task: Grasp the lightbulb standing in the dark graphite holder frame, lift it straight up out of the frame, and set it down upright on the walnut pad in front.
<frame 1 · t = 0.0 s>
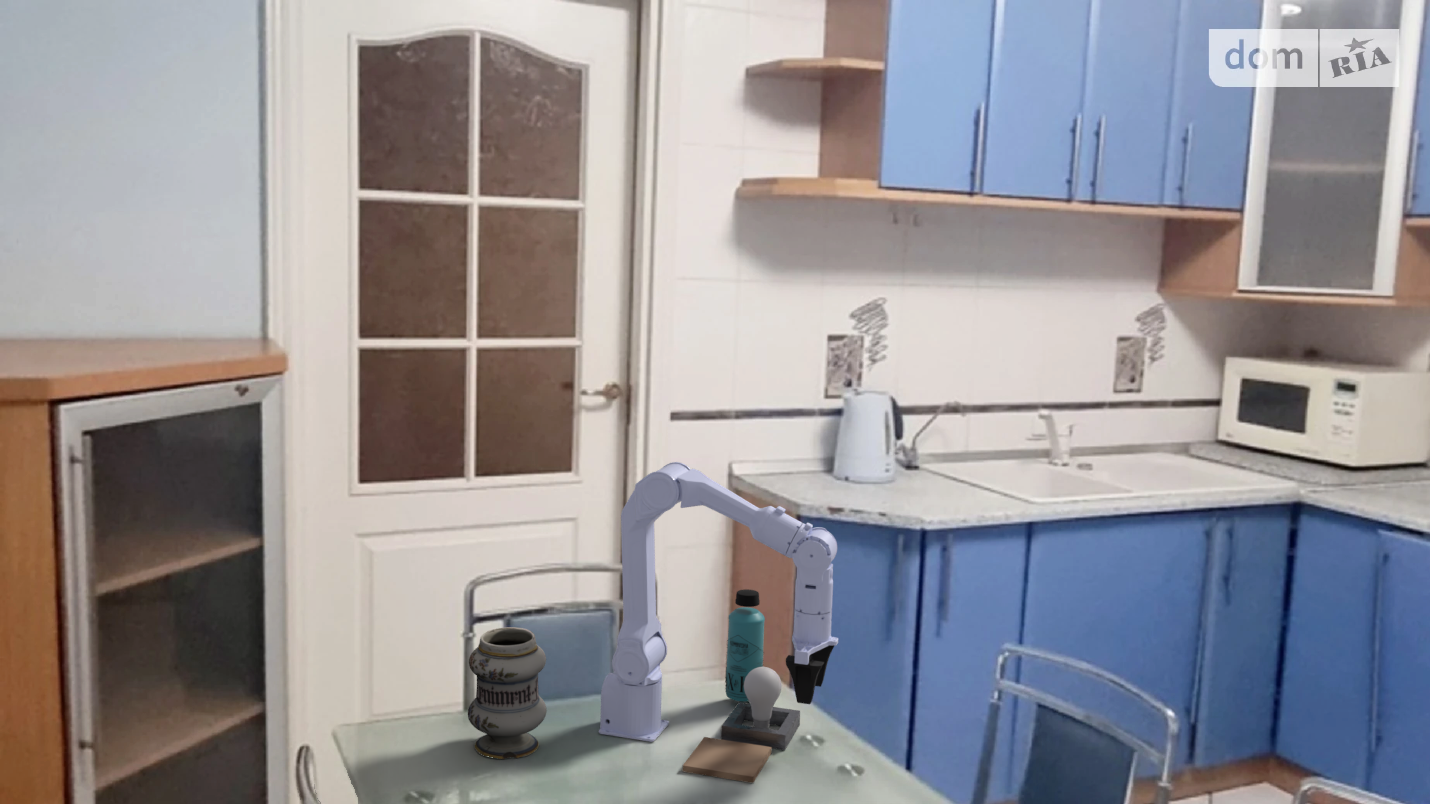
hand: (809, 693, 186), 10 cm above the table, fingers open, 7 cm apart
apothecary jar: (507, 747, 188), on the table
beverage bottle: (743, 704, 208), on the table
holder frame: (761, 732, 195), on the table
walnut pad: (727, 762, 184), on the table
lightbulb: (760, 733, 195), resting in holder frame
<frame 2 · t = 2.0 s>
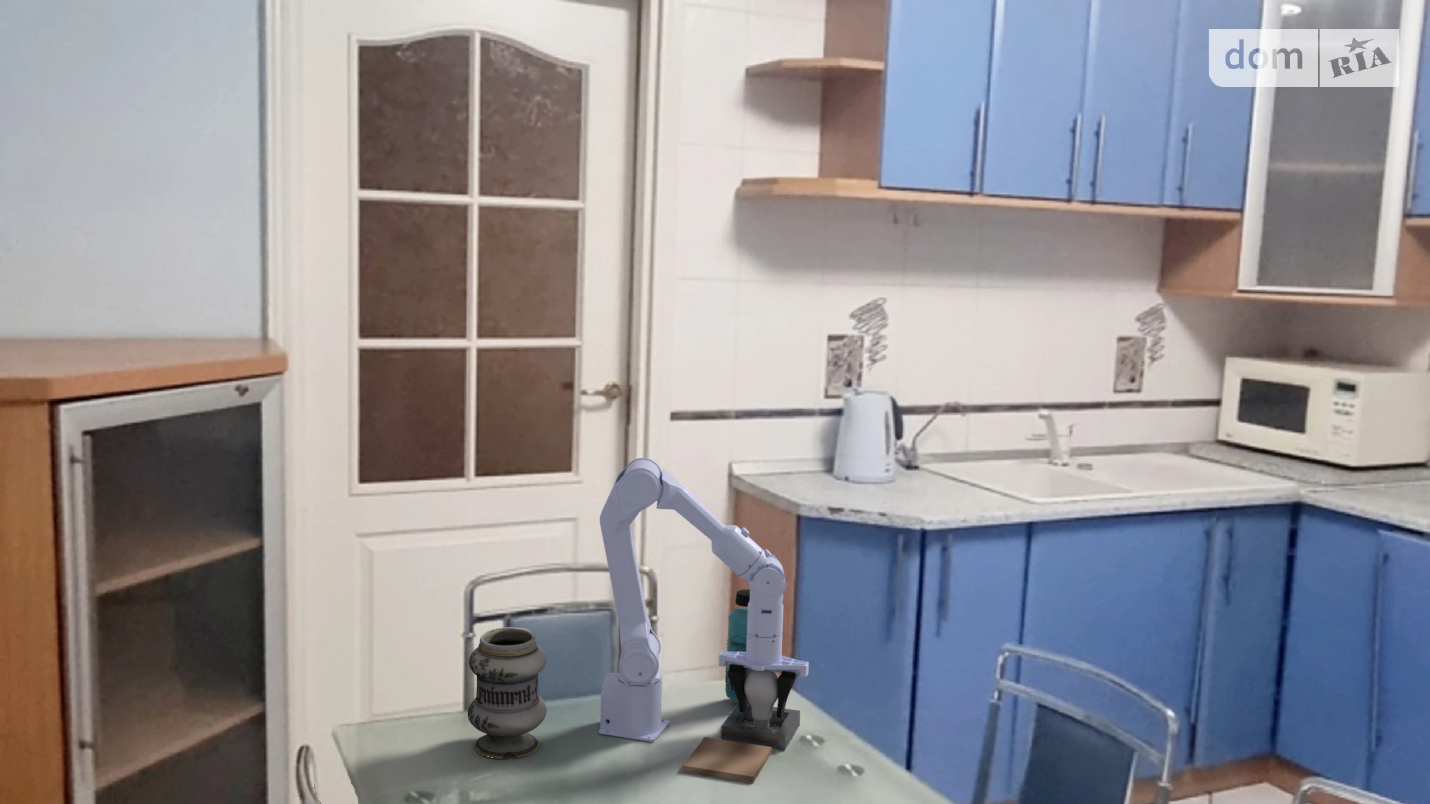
hand: (761, 712, 195), 3 cm above the table, fingers closed on lightbulb, 6 cm apart
lightbulb: (761, 733, 195), resting in holder frame, touching gripper
everything else where it was.
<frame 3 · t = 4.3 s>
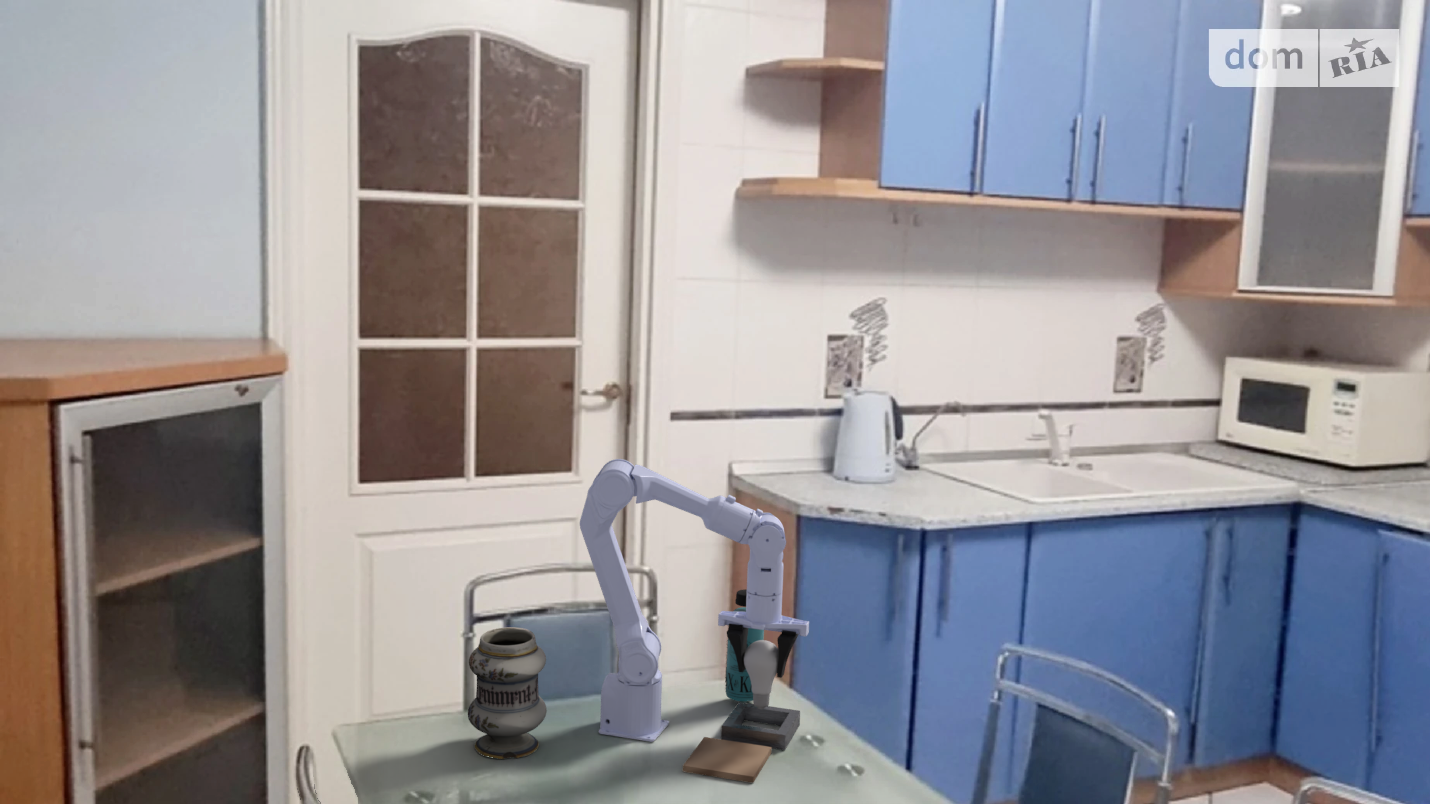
hand: (761, 672, 193), 10 cm above the table, fingers closed on lightbulb, 6 cm apart
lightbulb: (760, 710, 193), point 5 cm above the table, touching gripper
everything else where it was.
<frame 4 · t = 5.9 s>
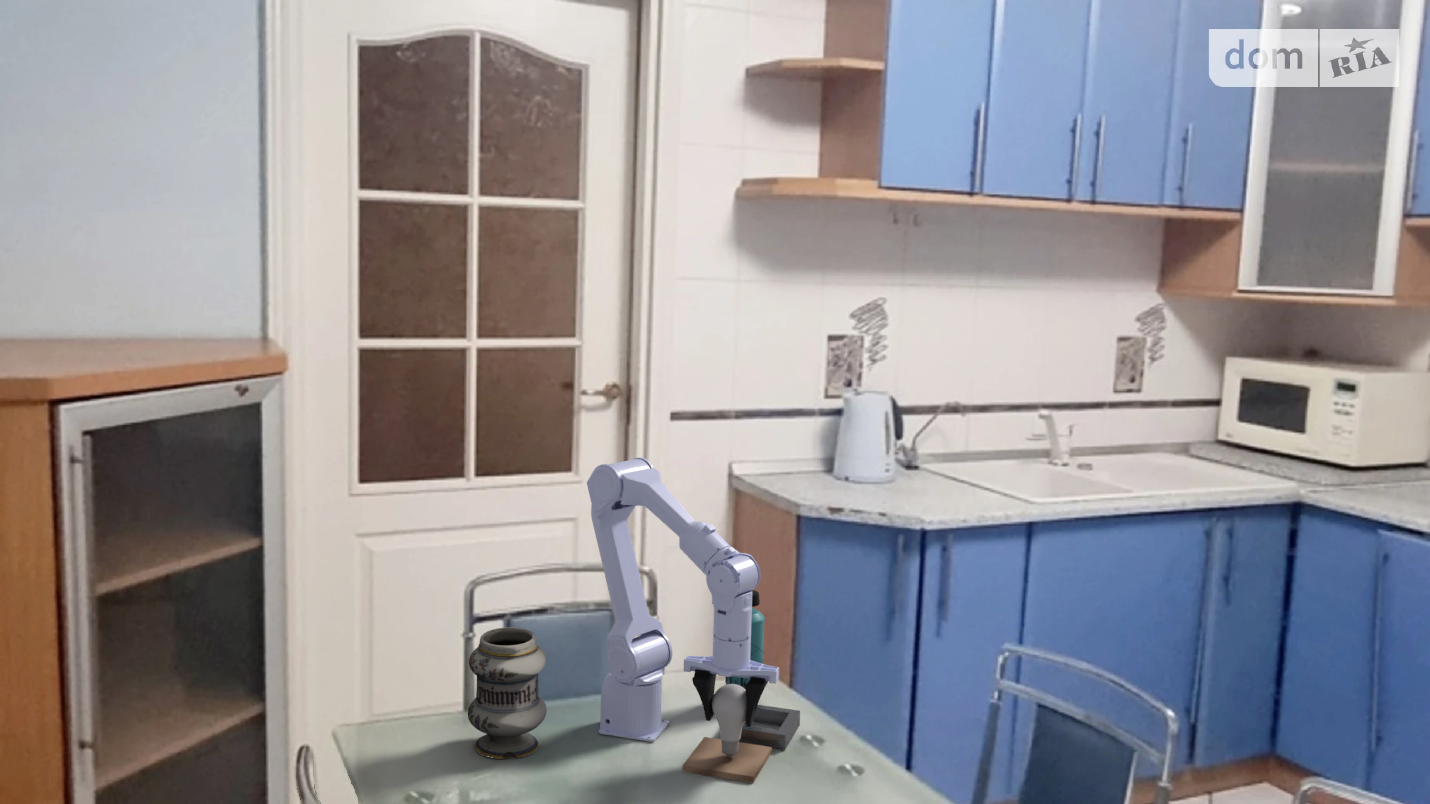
hand: (729, 721, 183), 7 cm above the table, fingers closed on lightbulb, 6 cm apart
lightbulb: (729, 758, 183), point 1 cm above the table, touching gripper, walnut pad
everything else where it was.
when the fingers open (5 cm above the table, at t = 7.1 s): lightbulb stays where it is, resting on walnut pad.
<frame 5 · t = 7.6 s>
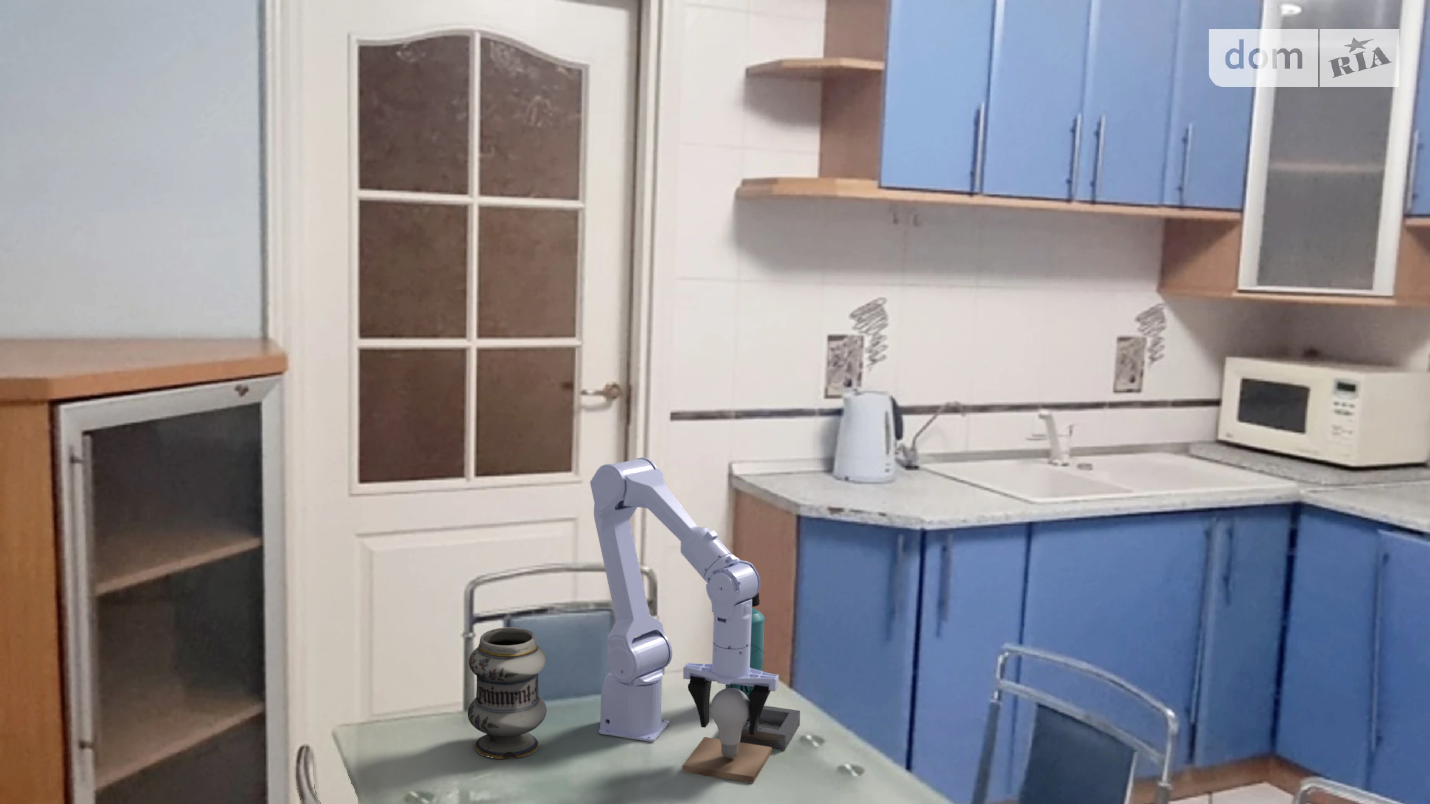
hand: (728, 728, 183), 5 cm above the table, fingers open, 7 cm apart
lightbulb: (729, 759, 183), point 1 cm above the table, touching walnut pad
everything else where it was.
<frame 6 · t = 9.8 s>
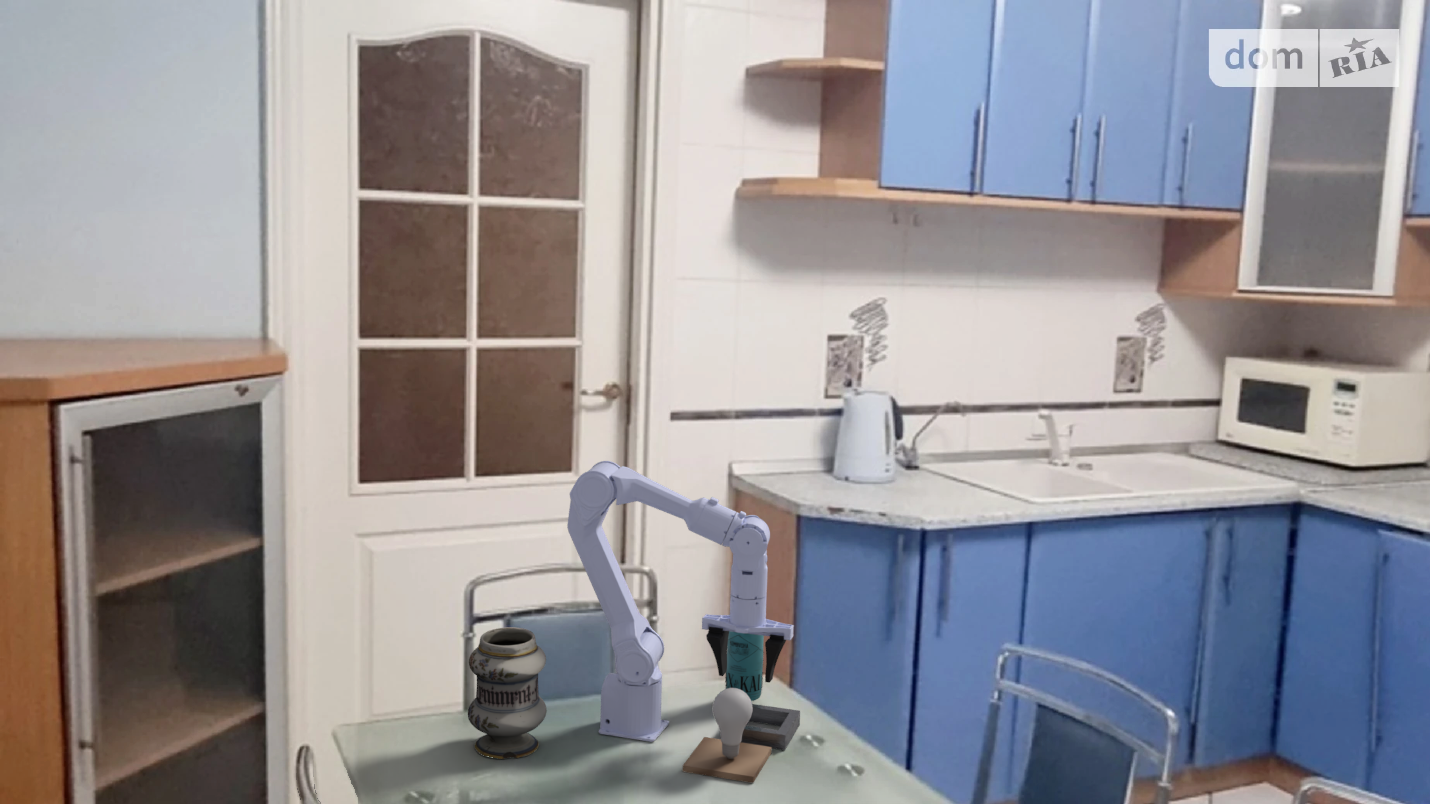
hand: (745, 677, 191), 10 cm above the table, fingers open, 7 cm apart
nothing on the table moved.
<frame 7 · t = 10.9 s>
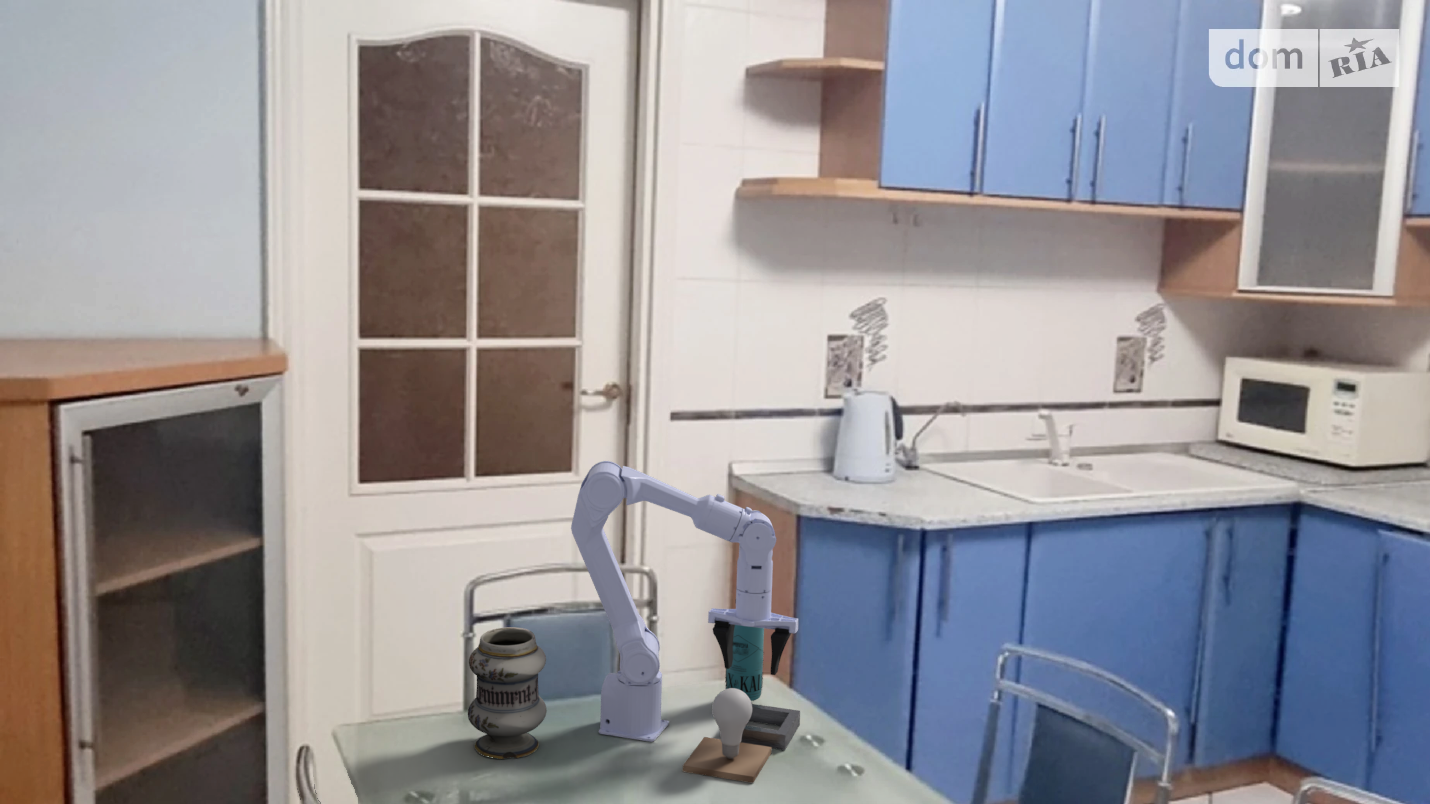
hand: (751, 669, 195), 10 cm above the table, fingers open, 7 cm apart
nothing on the table moved.
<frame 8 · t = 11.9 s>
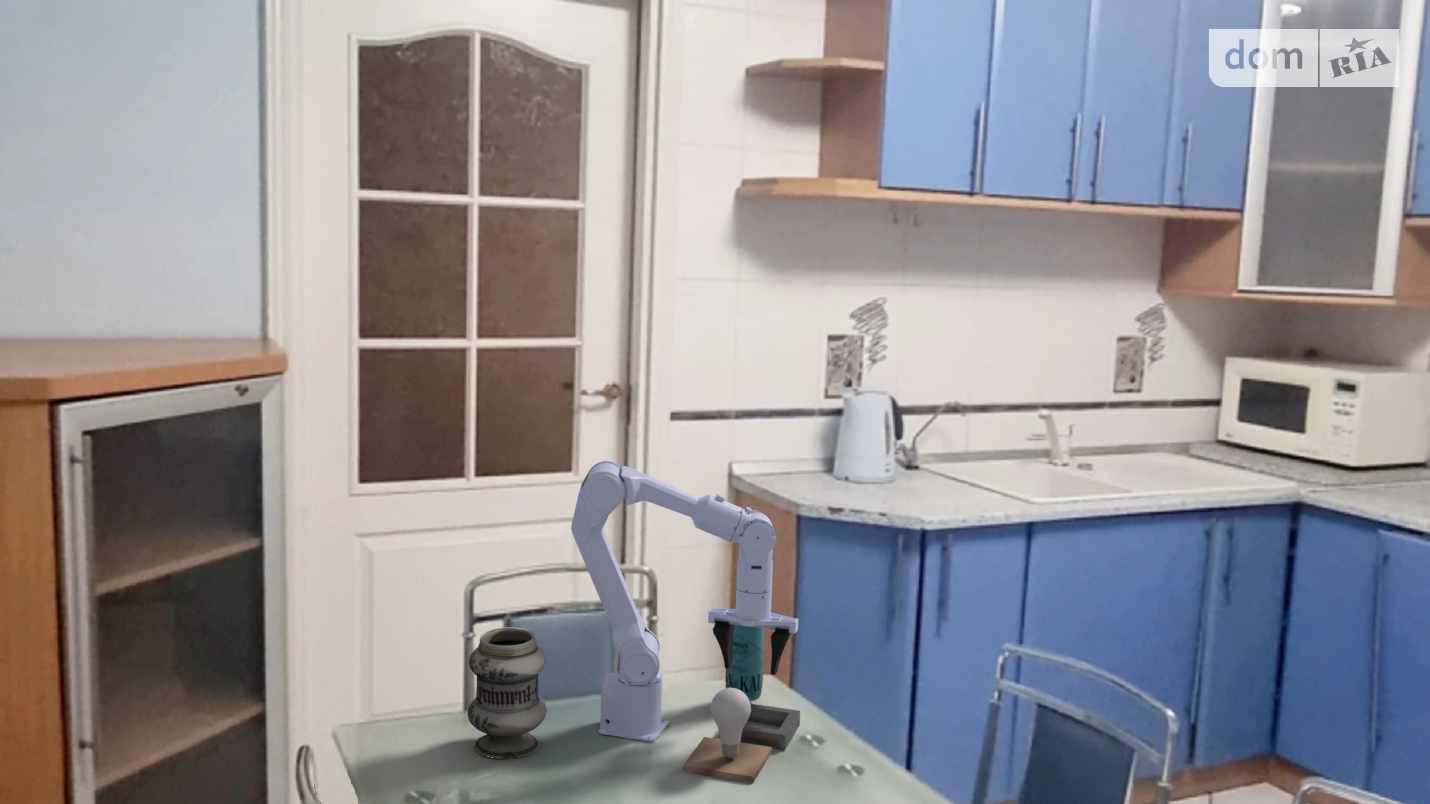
hand: (751, 669, 195), 10 cm above the table, fingers open, 7 cm apart
nothing on the table moved.
at the end: lightbulb 0.8 cm off-centre on the walnut pad, point 0.8 cm above the walnut pad's base; lightbulb tilted 1°; the gripper is holding nothing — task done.
